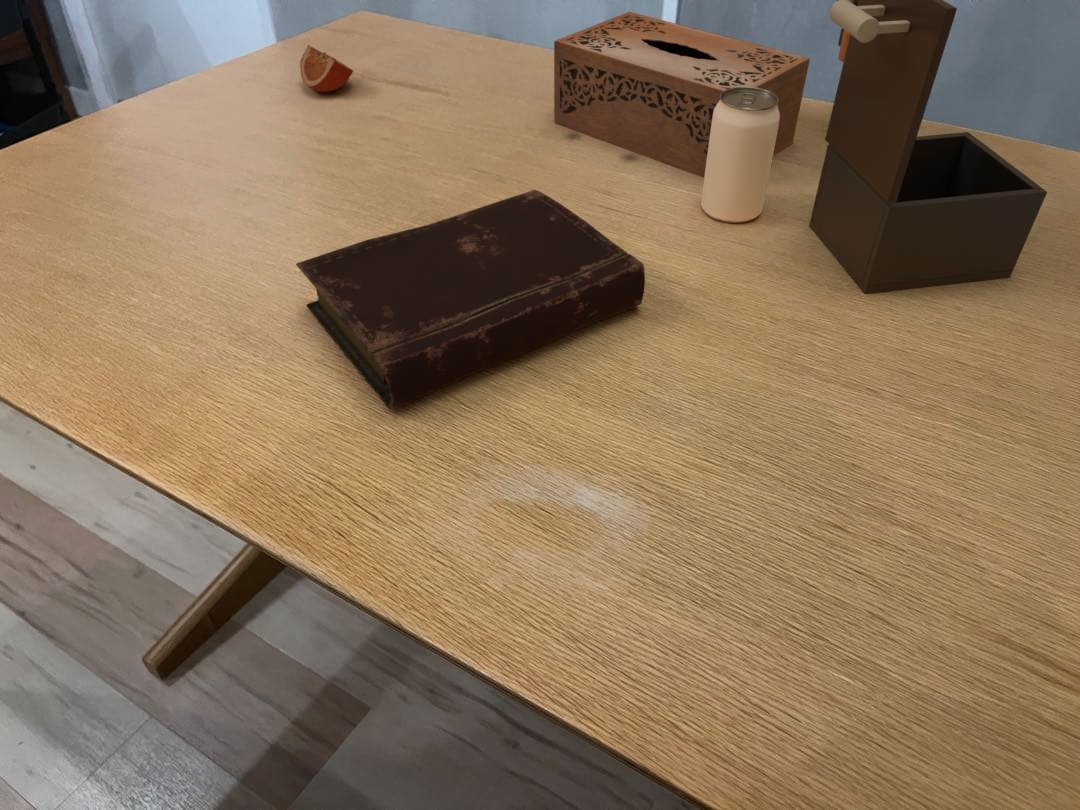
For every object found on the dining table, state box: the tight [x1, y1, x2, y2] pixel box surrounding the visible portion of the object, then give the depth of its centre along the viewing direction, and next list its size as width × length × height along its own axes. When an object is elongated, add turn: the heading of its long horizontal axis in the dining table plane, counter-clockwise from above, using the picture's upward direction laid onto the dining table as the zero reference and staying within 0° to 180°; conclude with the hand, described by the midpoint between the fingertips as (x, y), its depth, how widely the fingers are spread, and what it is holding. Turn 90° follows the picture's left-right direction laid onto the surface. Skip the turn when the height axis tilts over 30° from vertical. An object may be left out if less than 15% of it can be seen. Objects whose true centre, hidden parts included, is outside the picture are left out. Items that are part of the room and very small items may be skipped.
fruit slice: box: [299, 44, 354, 93], centre depth 112 cm, size 8×7×5 cm
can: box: [700, 87, 780, 224], centre depth 83 cm, size 6×6×12 cm
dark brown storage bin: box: [808, 131, 1048, 294], centre depth 78 cm, size 15×13×9 cm
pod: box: [837, 30, 850, 63], centre depth 95 cm, size 5×5×4 cm
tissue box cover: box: [553, 11, 811, 178], centre depth 98 cm, size 26×14×10 cm, turn 47°
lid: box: [825, 0, 958, 203], centre depth 68 cm, size 15×13×5 cm
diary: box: [295, 189, 646, 411], centre depth 73 cm, size 19×25×5 cm
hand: (858, 54), depth 96 cm, fingers closed on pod, 5 cm apart
